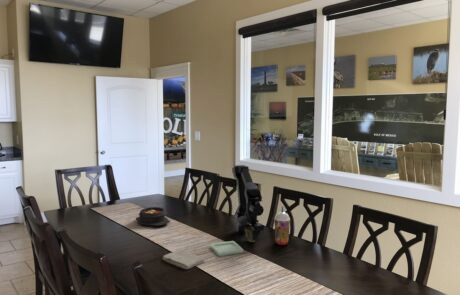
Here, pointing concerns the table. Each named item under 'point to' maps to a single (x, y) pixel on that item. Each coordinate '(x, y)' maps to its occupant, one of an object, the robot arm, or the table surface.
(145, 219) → the casserole
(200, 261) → the washcloth
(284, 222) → the smoothie
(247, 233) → the cup
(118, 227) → the table surface
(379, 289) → the table surface
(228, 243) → the tray
